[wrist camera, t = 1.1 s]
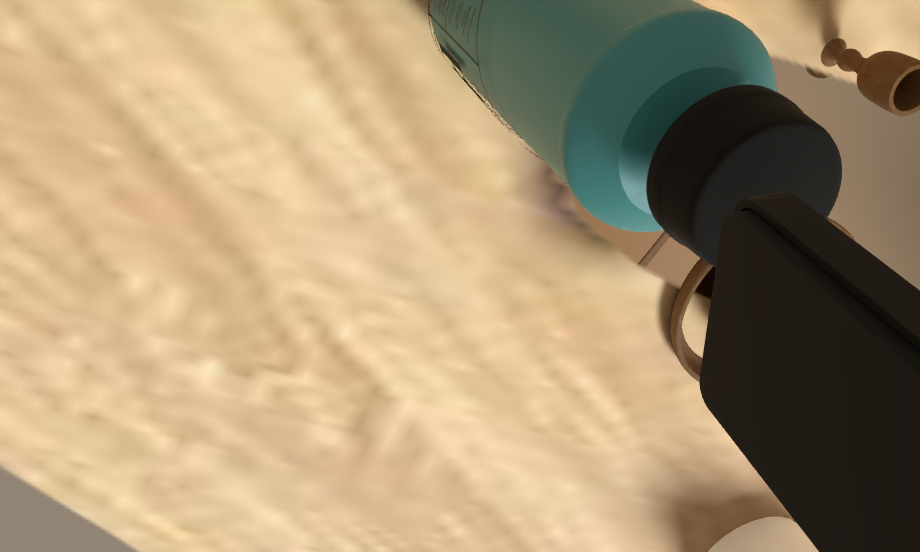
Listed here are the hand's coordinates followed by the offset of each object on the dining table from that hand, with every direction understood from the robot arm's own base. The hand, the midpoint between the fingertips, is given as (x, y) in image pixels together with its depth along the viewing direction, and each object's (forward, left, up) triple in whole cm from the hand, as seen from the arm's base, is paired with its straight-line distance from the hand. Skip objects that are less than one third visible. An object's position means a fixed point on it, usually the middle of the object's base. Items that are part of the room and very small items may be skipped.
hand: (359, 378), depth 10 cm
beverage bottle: (-3, +10, -26) cm, 28 cm away
